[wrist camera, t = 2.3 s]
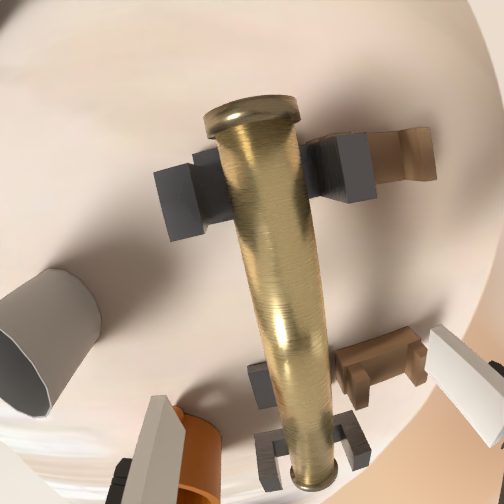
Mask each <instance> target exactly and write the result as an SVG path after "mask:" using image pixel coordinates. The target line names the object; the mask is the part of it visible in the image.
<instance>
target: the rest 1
mask: <svg viewBox="0 0 504 504" xmlns="http://www.w3.org/2000/svg"><path fill="white" fill-rule="evenodd" d="M345 134H351V132H344V133H335V134H330V135H327V136H325V137H322V138H319V139H314V140H311V141H309V142H306V145H308V144H312V143H315V142H318V141H321V140H324V139H327V138H330V137H333V136H336V135H345ZM366 134H367V139H368V144H369V149H370V155H371V161H372V167H373V173H374V179H375V184H381V183H387V182H393V181H400V180H414V181H424V182H425V181H432V180H437V175H436V166H435V159H434V152H433V146H432V140H431V135H430V129H429V127H424V128H412V129H406V130H401V131H391V132H376V133H366Z"/></svg>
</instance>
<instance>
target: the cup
mask: <svg viewBox="0 0 504 504" xmlns="http://www.w3.org/2000/svg"><path fill="white" fill-rule="evenodd" d="M100 334H101V314H100V312H99V309H98V306H97V304H96V301H95V298H94V296H93V295H92V294H91V293H90V291H89V290H88V289H87V288H86V286H85V285H84V284H83V282H82V281H81V280H80V279H78V278H77V277H75V276H73V275H72V274H70V273H68V272H67V271H65V270H62V269H50V268H48V269H46V270H45V271H43V272H42V273H40V274H38V275H37V276H35V277H34V278H32V279H31V280H29V281H28V282H26V283H25V284H23V285H21V286H20V287H18V288H17V289H15V290H14V291H13V292H11V293H10V294H8V295H7V296H5V297H4V298H2V299H1V300H0V398H1V399H2V400H3V401H4V402H6V403H7V404H8V405H10V406H11V407H12V408H14V409H15V410H16V411H18V412H20V413H23V414H25V415H27V416H30V417H32V418H41V417H47V415H48V414H49V412H50V410H51V409H52V407H53V406H54V404H55V402H56V401H57V399H58V397H59V396H60V394H61V393H62V391H63V390H64V388H65V386H66V385H67V383H68V382H69V380H70V379H71V377H72V376H73V374H74V373H75V371H76V370H77V368H78V367H79V365H80V364H81V362H82V361H83V359H84V358H85V356H86V355H87V353H88V352H89V350H90V349H91V348H92V346H93V345H94V343H95V342H96V340H97V339H98V337H99V336H100Z"/></svg>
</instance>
